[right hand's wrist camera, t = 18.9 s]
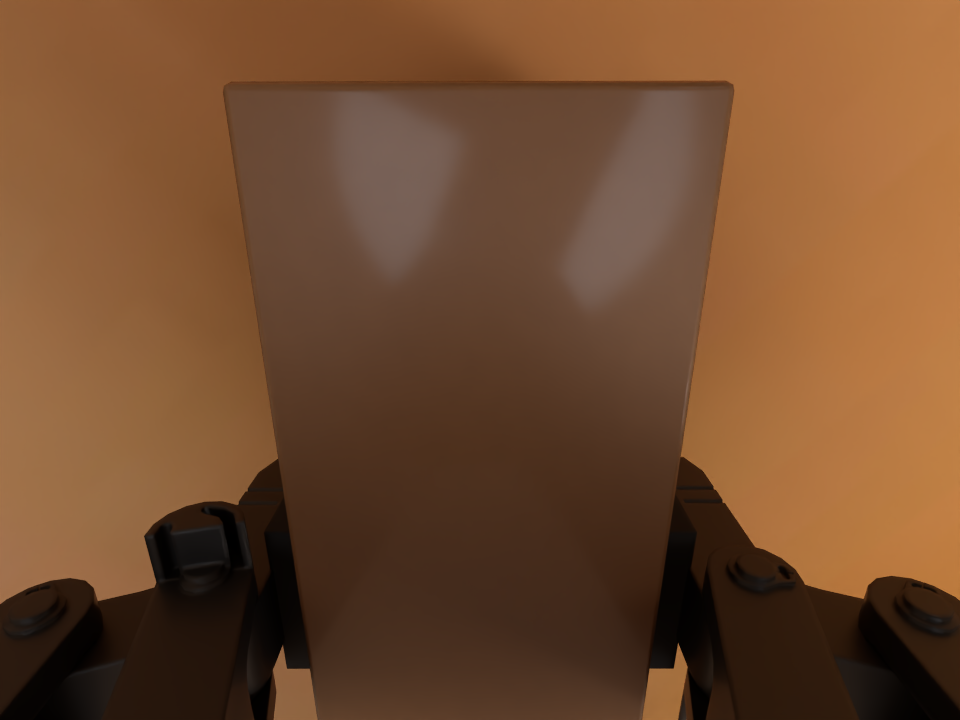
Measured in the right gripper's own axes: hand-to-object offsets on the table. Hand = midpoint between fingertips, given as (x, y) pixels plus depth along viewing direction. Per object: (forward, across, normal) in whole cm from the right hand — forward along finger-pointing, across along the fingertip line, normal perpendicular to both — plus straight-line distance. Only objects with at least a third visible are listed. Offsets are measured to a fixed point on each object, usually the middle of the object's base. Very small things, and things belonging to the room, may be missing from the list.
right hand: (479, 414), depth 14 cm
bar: (+1, 0, -19) cm, 19 cm away
